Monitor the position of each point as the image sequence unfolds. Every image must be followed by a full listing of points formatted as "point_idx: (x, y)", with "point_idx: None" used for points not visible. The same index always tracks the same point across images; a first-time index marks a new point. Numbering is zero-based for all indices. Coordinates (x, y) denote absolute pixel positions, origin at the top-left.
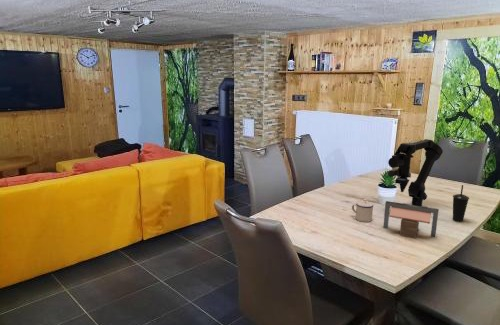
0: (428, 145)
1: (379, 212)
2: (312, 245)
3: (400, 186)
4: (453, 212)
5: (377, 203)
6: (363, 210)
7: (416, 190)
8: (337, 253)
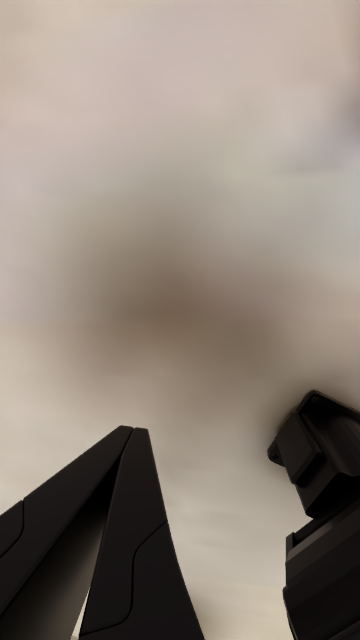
0: None
1: (78, 155)
2: None
3: (5, 523)
4: None
5: (347, 98)
6: None
7: (326, 633)
8: None
